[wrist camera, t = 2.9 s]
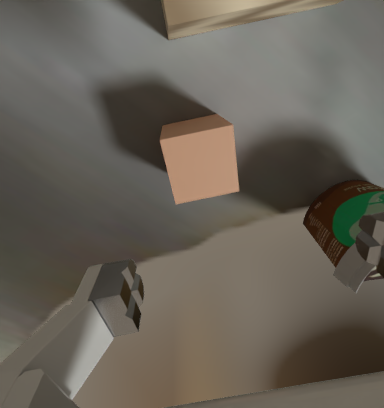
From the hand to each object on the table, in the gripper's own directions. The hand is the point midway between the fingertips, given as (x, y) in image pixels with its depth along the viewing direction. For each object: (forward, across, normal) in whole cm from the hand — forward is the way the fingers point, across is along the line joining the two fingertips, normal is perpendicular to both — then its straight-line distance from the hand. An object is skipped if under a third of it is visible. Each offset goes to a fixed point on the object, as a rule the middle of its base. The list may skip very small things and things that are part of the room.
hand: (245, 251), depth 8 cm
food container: (+16, -15, +9) cm, 24 cm away
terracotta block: (+15, +1, 0) cm, 15 cm away
